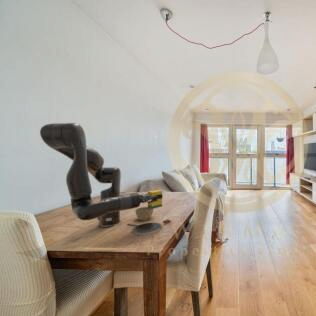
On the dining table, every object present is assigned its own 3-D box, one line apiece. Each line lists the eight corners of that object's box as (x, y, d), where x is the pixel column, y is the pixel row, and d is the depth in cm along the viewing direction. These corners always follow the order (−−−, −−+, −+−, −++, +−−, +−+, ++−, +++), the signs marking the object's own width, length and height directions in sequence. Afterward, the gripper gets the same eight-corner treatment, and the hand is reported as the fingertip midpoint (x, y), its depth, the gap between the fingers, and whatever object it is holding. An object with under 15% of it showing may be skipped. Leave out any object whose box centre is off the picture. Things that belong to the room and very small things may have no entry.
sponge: (147, 207, 100) (147, 191, 100) (157, 205, 105) (157, 189, 105) (151, 208, 97) (152, 192, 97) (162, 206, 102) (162, 190, 102)
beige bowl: (146, 223, 106) (146, 211, 106) (131, 222, 108) (131, 210, 108) (156, 218, 116) (156, 207, 116) (143, 217, 118) (143, 206, 118)
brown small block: (163, 224, 106) (163, 220, 106) (167, 222, 108) (167, 219, 108) (165, 225, 104) (166, 221, 104) (170, 223, 106) (170, 220, 106)
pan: (115, 231, 95) (115, 228, 95) (137, 222, 108) (137, 219, 108) (148, 236, 89) (148, 233, 89) (166, 226, 103) (166, 223, 103)
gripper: (134, 196, 85) (166, 190, 99) (121, 192, 93) (153, 187, 107) (134, 211, 85) (166, 204, 99) (121, 206, 94) (153, 200, 108)
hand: (159, 195), depth 103 cm, fingers closed on sponge, 4 cm apart
